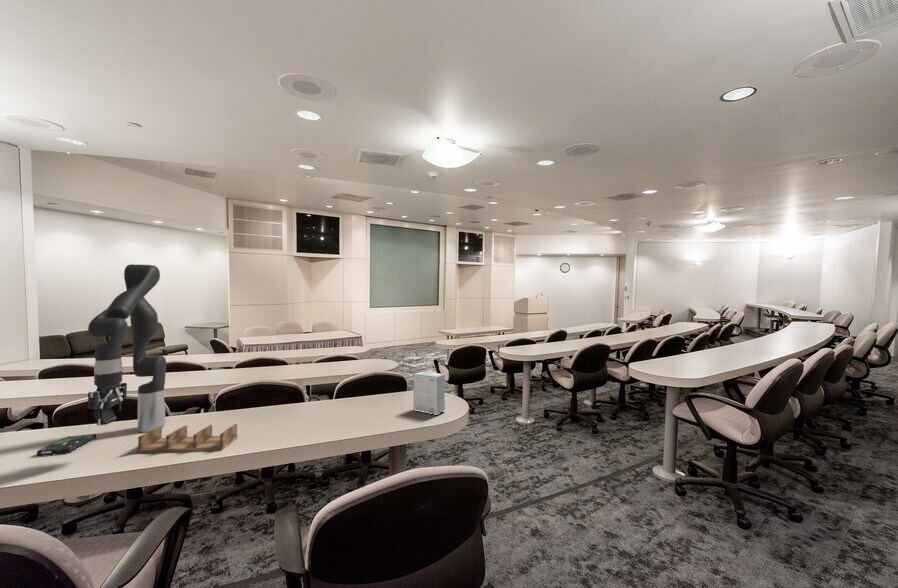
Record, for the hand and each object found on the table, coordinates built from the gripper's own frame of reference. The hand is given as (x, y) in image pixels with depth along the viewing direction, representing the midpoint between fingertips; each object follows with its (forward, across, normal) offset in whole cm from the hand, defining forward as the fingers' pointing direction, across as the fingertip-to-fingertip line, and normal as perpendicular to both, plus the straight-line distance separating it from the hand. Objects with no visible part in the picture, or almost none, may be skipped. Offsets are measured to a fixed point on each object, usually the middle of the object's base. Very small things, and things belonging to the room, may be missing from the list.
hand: (108, 414), depth 131 cm
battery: (+3, 0, 0) cm, 3 cm away
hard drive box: (+17, -42, +122) cm, 130 cm away
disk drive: (+17, -11, -24) cm, 32 cm away
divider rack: (+16, -9, +24) cm, 30 cm away
